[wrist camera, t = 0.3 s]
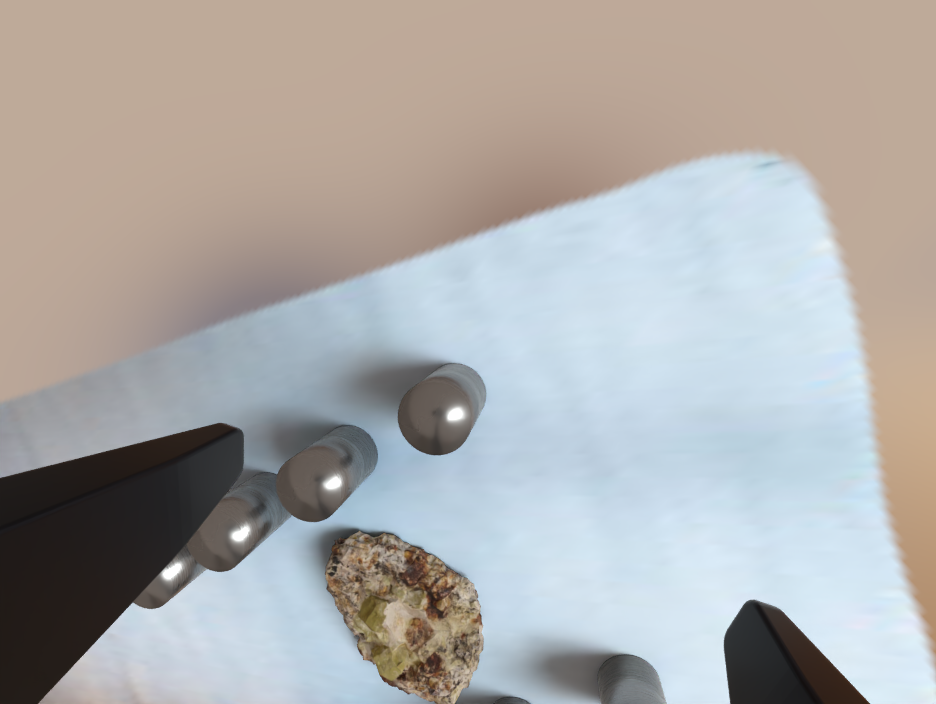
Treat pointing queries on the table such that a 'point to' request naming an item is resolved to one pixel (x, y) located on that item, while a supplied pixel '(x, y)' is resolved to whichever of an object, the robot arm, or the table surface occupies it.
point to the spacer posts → (334, 479)
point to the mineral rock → (407, 614)
